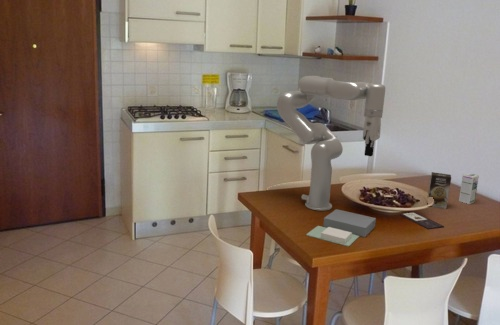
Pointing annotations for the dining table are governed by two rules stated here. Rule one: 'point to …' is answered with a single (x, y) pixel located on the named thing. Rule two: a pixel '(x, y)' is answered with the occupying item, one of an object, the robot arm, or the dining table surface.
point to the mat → (317, 234)
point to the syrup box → (468, 188)
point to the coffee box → (439, 189)
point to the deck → (350, 222)
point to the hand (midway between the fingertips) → (368, 155)
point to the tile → (336, 235)
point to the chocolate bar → (422, 220)
